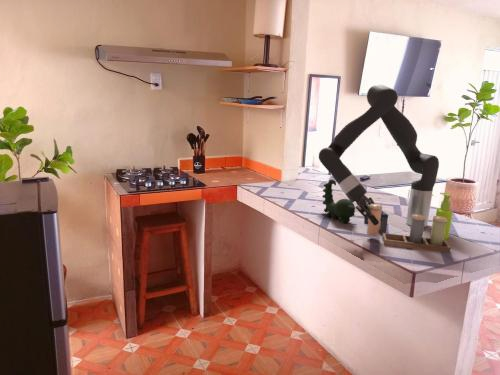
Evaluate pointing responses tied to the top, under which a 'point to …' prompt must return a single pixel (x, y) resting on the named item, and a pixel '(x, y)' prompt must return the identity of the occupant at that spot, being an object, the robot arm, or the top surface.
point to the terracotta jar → (376, 211)
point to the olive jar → (438, 230)
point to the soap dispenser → (445, 213)
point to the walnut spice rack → (404, 242)
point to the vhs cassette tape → (381, 222)
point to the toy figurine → (337, 204)
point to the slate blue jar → (417, 228)
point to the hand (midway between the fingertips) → (379, 222)
